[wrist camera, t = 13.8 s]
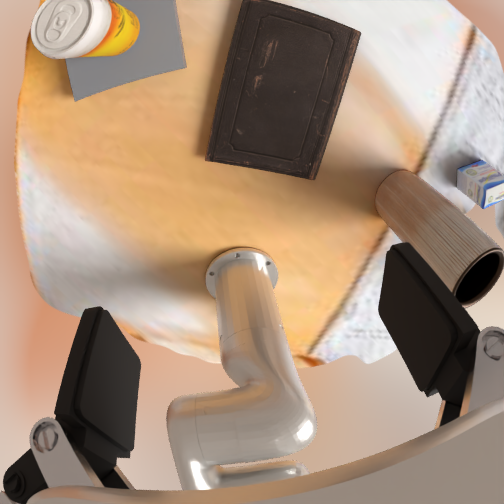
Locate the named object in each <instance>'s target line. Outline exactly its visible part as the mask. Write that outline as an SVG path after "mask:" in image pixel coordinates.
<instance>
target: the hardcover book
mask: <svg viewBox="0 0 504 504" xmlns="http://www.w3.org/2000/svg"><path fill="white" fill-rule="evenodd" d="M360 36H361V32H359V31H357V30H355V29H353V28H350V27H348V26H346V25H343V24H341V23H338V22H335V21H333V20H330V19H328V18H325V17H322V16H319V15H316V14H314V13H311V12H308V11H304V10H301V9H298V8H295V7H292V6H288V5H285V4H281V3H277V2H274V1H270V0H243V2H242V6H241V9H240V13H239V16H238V20H237V23H236V27H235V31H234V34H233V38H232V42H231V46H230V50H229V54H228V58H227V62H226V66H225V70H224V74H223V78H222V83H221V87H220V91H219V96H218V100H217V105H216V109H215V114H214V118H213V123H212V128H211V133H210V138H209V143H208V148H207V153H206V158H205V161H210V162H217V163H224V164H230V165H236V166H242V167H248V168H254V169H259V170H265V171H270V172H275V173H281V174H286V175H291V176H296V177H300V178H305V179H310V180H315V178H316V175H317V172H318V169H319V166H320V163H321V161H322V158H323V155H324V152H325V149H326V146H327V143H328V139H329V136H330V133H331V130H332V127H333V124H334V121H335V118H336V115H337V112H338V108H339V105H340V102H341V99H342V96H343V93H344V89H345V86H346V83H347V80H348V76H349V73H350V70H351V66H352V63H353V60H354V56H355V53H356V49H357V46H358V43H359V39H360Z"/></svg>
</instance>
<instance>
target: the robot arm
mask: <svg viewBox="0 0 504 504" xmlns="http://www.w3.org/2000/svg"><path fill="white" fill-rule="evenodd" d="M277 281H278V270H277V267H276V264H275V262H274V261H273V259H272V258H271V257H270V256H269V255H268V254H266V253H264V252H263V251H260V250H257V249H253V248H236V249H232V250H229V251H226V252H224V253H222V254H220V255H219V256H218V257H216V258H215V259H214V260H213V261H212V262H211V263H210V265H209V267H208V269H207V272H206V286H207V289H208V291H209V293H210V294H211V295H212V296H213V297H214V298H215V299H216V307H217V321H218V333H219V345H220V356H221V363H222V365H223V368H224V370H225V372H226V373H227V375H228V376H229V377H230V378H231V379H232V380H233V381H234V382H235V383H236V384H237V385H238V386H239V387H240V388H234V389H230V390H222V391H214V392H206V393H197V394H189V395H184V396H180V397H177V398H176V399H174V400H173V401H172V402H171V403H170V405H169V407H168V410H167V417H166V419H167V420H166V421H167V431H168V437H169V442H170V446H171V450H172V454H173V458H174V461H175V465H176V469H177V472H178V476H179V479H180V483H181V486H182V489H183V490H181V491H159V490H156V491H155V490H136V489H135V488H134V487H133V486H132V484H131V483H130V482H129V481H128V479H127V478H126V477H125V475H124V474H123V473H122V471H121V470H120V469H119V467H118V466H117V465H116V460H117V457H118V458H130V451H132V450H133V449H134V440H135V423H136V410H137V399H138V388H139V379H140V370H141V362H140V359H139V357H138V356H137V354H136V353H135V351H134V350H133V348H132V347H131V345H130V344H129V342H128V341H127V340H126V338H125V337H124V335H123V334H122V332H121V331H120V329H119V327H118V326H117V324H116V323H115V321H114V320H113V318H112V317H111V315H110V313H109V312H108V311H107V310H104V309H103V308H102V307H93V308H88V309H85V310H84V312H83V314H82V317H81V320H80V323H79V326H78V329H77V332H76V335H75V338H74V341H73V344H72V348H71V351H70V354H69V357H68V361H67V365H66V368H65V371H64V375H63V379H62V383H61V386H60V390H59V394H58V399H57V402H56V407H55V411H54V414H55V415H56V417H55V419H53V418H49V417H47V418H43V419H41V420H39V421H38V422H37V423H36V424H35V425H34V427H33V428H32V430H31V433H30V445H31V448H30V449H29V450H28V451H27V452H26V453H25V454H24V455H23V456H21V457H20V458H19V459H18V460H17V461H16V462H15V463H14V464H13V465H12V466H10V467H9V468H8V469H7V471H6V472H5V475H4V479H3V486H4V490H5V492H4V491H1V493H0V504H504V330H503V329H501V328H499V327H487V328H485V329H483V330H482V331H481V332H480V330H479V329H478V326H477V325H476V323H475V322H474V321H473V319H472V318H471V317H470V315H469V314H468V313H467V311H466V310H465V309H464V307H463V306H462V305H461V303H460V302H459V301H458V299H457V298H456V297H455V296H454V294H453V293H452V292H451V291H450V289H449V288H448V287H447V286H446V285H445V283H444V282H443V281H442V280H441V278H440V277H439V276H438V275H437V274H436V272H435V271H434V270H433V269H432V268H431V267H430V265H429V264H428V263H427V262H426V261H425V260H424V259H423V257H422V256H421V255H420V254H419V253H418V252H417V251H416V250H415V248H414V247H413V246H412V245H411V244H410V243H409V242H403V243H399V244H395V245H392V246H391V248H390V250H389V251H387V253H386V260H385V268H384V275H383V282H382V288H381V294H380V300H379V306H378V311H379V315H380V318H381V319H382V321H383V323H384V325H385V326H386V328H387V330H388V332H389V334H390V335H391V337H392V339H393V341H394V343H395V345H396V346H397V348H398V350H399V352H400V354H401V356H402V358H403V360H404V361H405V363H406V365H407V367H408V369H409V371H410V373H411V375H412V377H413V379H414V381H415V383H416V385H417V387H418V389H419V390H420V391H424V392H425V394H426V396H427V397H429V396H431V395H434V394H436V393H438V392H439V394H440V396H441V398H442V403H441V407H440V410H439V414H438V418H437V422H436V425H435V428H434V430H432V431H431V432H428V433H426V434H424V435H422V436H419V437H417V438H415V439H413V440H410V441H408V442H406V443H403V444H401V445H398V446H396V447H393V448H391V449H389V450H386V451H383V452H380V453H378V454H375V455H372V456H369V457H367V458H363V459H360V460H357V461H354V462H351V463H348V464H345V465H341V466H338V467H334V468H331V469H327V470H323V471H320V472H316V473H312V474H310V472H309V471H308V469H307V468H306V466H305V465H304V464H302V463H300V462H297V461H287V460H286V461H276V462H268V463H262V464H255V465H248V466H240V467H230V468H223V467H221V466H220V465H225V464H235V463H243V462H246V463H247V462H255V461H261V460H268V459H273V458H279V457H283V456H287V455H290V454H293V453H295V452H298V451H300V450H302V449H304V448H305V447H307V446H308V445H309V444H310V443H311V442H312V440H313V439H314V437H315V435H316V431H317V419H316V415H315V411H314V408H313V406H312V403H311V401H310V399H309V397H308V395H307V393H306V391H305V389H304V387H303V385H302V382H301V380H300V378H299V375H298V373H297V370H296V367H295V364H294V362H293V358H292V355H291V351H290V348H289V344H288V341H287V337H286V334H285V330H284V326H283V323H282V319H281V315H280V312H279V308H278V304H277V301H276V297H275V293H274V290H273V289H274V288H275V286H276V284H277Z"/></svg>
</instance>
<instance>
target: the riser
mask: <svg viewBox="0 0 504 504" xmlns="http://www.w3.org/2000/svg"><path fill="white" fill-rule="evenodd" d="M112 1H114V2H116V3H118V4H119V5H121V6H123V7H125V8H126V9H128V10H130V11H132V12H133V13H134V14H135V15H136V16H137V18H138V20H139V23H140V32H139V35H138V38H137V40H136V41H135V43H134V44H133V45H132V46H131V47H130V48H129V49H128V50H127V51H125V52H124V53H122V54H119V55H116V56H98V57H77V58H65V60H66V65H67V70H68V75H69V79H70V84H71V88H72V92H73V96H74V100H75V101H78V100H80V99H83V98H85V97H88V96H91V95H93V94H96V93H99V92H102V91H105V90H108V89H110V88H113V87H116V86H120V85H123V84H126V83H129V82H132V81H136V80H139V79H143V78H146V77H150V76H154V75H158V74H162V73H166V72H170V71H174V70H178V69H183V68H187V66H186V60H185V55H184V49H183V43H182V38H181V32H180V26H179V20H178V14H177V7H176V1H175V0H112Z"/></svg>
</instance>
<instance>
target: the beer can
mask: <svg viewBox="0 0 504 504" xmlns="http://www.w3.org/2000/svg"><path fill="white" fill-rule="evenodd" d="M139 32H140V23H139V20H138V18H137V16H136V15H135V14H134V13H133V12H132V11H130V10H128V9H126V8H125V7H123V6H121V5H119V4H118V3H116V2H114V1H112V0H46V1H45V2H44V3H43V4H42V5H41V6H40V7H39V9H38V10H37V12H36V14H35V16H34V18H33V21H32V25H31V39H32V42H33V44H34V46H35V47H36V48H37V49H38V50H39V51H40V52H41V53H42V54H43V55H45V56H46V57H49V58H52V59H64V58H77V57H98V56H116V55H119V54H122V53H124V52H125V51H127V50H128V49H129V48H130V47H131V46H132V45H133V44H134V43H135V41H136V40H137V38H138V35H139Z"/></svg>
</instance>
